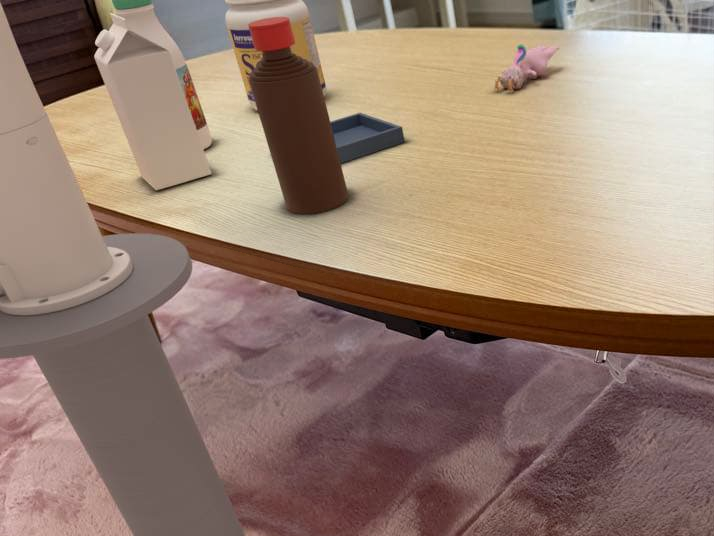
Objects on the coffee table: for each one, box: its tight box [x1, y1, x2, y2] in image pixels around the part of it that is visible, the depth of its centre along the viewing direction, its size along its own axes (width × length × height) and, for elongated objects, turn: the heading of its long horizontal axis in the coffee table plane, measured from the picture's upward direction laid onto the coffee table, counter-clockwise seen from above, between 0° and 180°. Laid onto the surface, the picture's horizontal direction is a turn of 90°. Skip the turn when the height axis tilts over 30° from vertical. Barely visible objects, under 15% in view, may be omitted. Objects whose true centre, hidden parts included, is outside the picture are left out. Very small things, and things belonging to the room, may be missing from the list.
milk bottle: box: [111, 0, 213, 151], centre depth 107 cm, size 8×8×20 cm
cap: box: [248, 17, 295, 51], centre depth 81 cm, size 4×4×2 cm
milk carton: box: [93, 12, 212, 191], centre depth 98 cm, size 7×7×19 cm
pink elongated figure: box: [494, 43, 560, 94], centre depth 123 cm, size 6×6×15 cm
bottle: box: [249, 47, 349, 215], centre depth 86 cm, size 7×7×18 cm
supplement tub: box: [224, 0, 327, 111], centre depth 123 cm, size 12×12×17 cm
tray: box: [330, 112, 406, 164], centre depth 106 cm, size 13×11×2 cm
